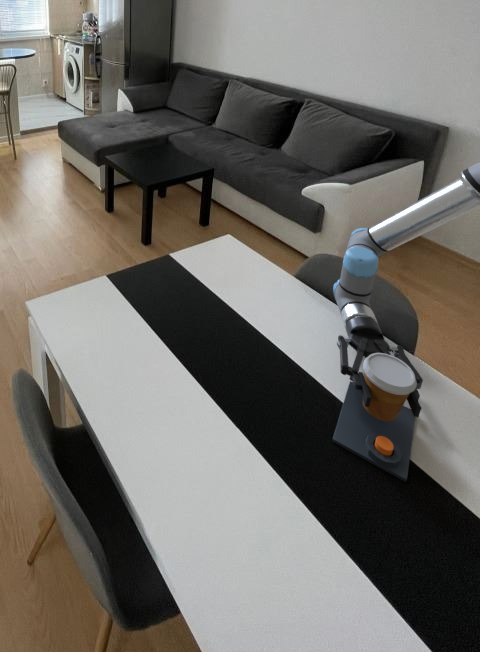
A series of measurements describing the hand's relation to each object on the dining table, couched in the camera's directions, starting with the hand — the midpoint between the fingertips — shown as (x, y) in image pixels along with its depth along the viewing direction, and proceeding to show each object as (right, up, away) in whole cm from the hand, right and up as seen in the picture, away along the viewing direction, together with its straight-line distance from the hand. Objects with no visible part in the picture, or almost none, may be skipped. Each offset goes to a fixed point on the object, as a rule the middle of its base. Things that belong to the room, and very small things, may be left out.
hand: (392, 407), depth 89 cm
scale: (0, -9, +6) cm, 11 cm away
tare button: (-2, -8, -1) cm, 9 cm away
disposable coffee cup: (+2, -4, +7) cm, 8 cm away
